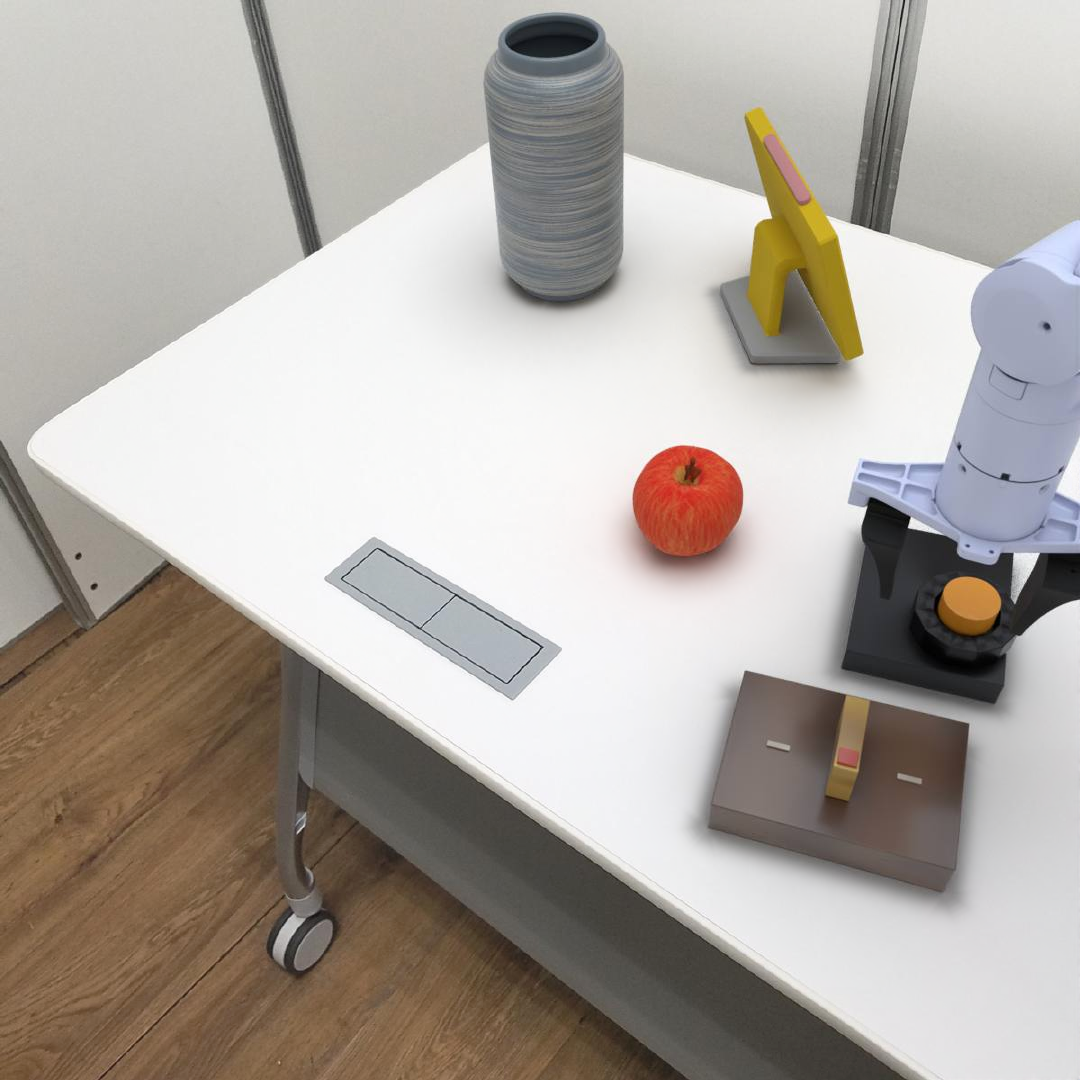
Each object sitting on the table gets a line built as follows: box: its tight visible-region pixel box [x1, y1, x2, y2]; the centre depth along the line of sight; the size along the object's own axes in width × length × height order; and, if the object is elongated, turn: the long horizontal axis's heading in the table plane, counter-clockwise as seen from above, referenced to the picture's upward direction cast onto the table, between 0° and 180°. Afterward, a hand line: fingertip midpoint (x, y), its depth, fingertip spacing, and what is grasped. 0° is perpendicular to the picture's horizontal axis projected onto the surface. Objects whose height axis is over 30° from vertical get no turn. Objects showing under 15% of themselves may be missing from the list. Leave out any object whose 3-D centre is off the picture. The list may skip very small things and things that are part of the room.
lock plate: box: [707, 669, 970, 893], centre depth 67 cm, size 14×10×3 cm
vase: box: [482, 11, 625, 302], centre depth 97 cm, size 12×12×23 cm
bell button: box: [938, 577, 1001, 636], centre depth 72 cm, size 4×4×2 cm
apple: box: [631, 444, 744, 557], centre depth 80 cm, size 8×8×8 cm
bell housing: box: [840, 527, 1017, 705], centre depth 75 cm, size 10×12×4 cm
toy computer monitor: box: [719, 106, 865, 364], centre depth 93 cm, size 20×8×16 cm, turn 9°
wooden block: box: [825, 694, 870, 801], centre depth 65 cm, size 5×1×4 cm, turn 161°
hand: (951, 604), depth 67 cm, fingers open, 7 cm apart
